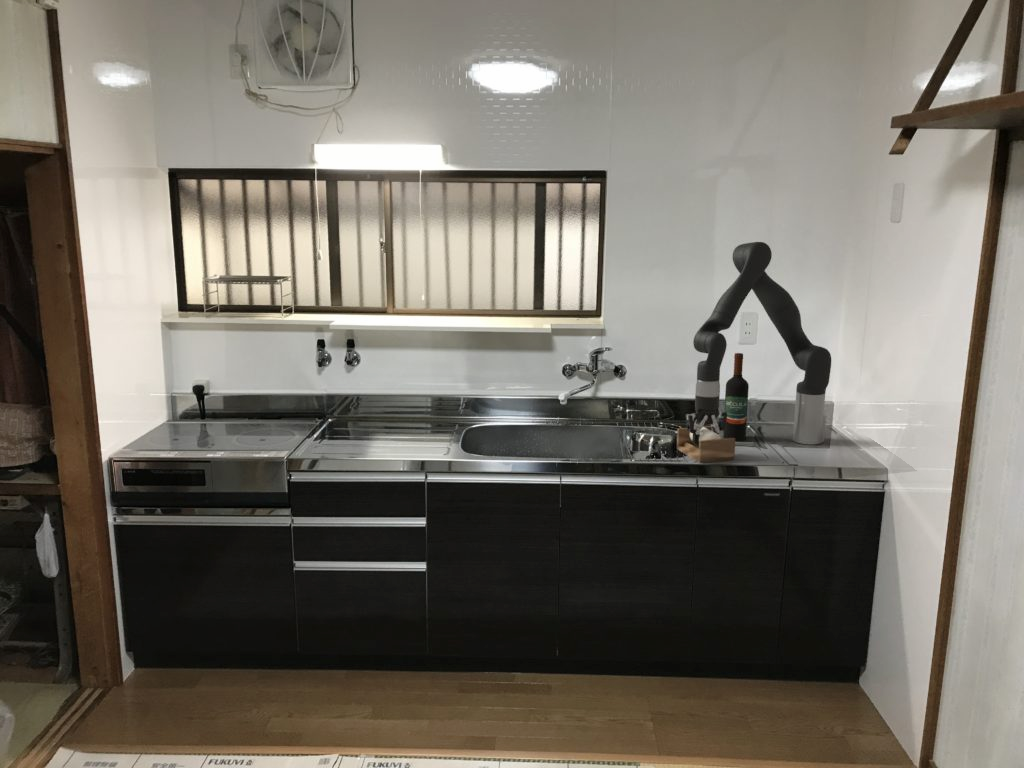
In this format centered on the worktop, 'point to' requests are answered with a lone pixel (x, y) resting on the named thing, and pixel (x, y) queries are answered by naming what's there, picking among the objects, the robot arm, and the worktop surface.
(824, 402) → the robot arm
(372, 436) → the worktop surface
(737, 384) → the wine bottle
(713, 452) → the walnut cradle
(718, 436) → the white cylinder
